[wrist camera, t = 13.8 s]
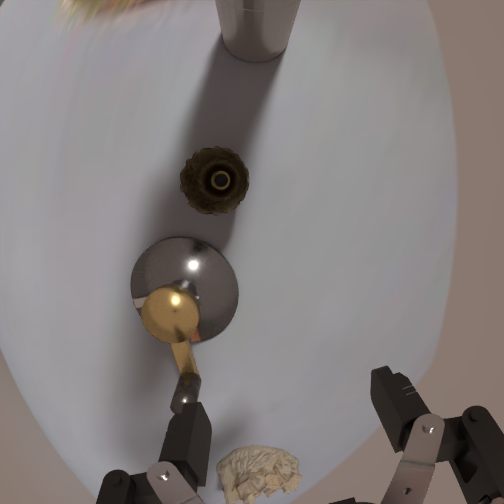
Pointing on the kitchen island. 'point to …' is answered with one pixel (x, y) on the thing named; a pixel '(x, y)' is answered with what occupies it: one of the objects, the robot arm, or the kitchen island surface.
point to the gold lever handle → (176, 335)
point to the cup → (203, 180)
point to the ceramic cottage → (257, 473)
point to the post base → (189, 280)
